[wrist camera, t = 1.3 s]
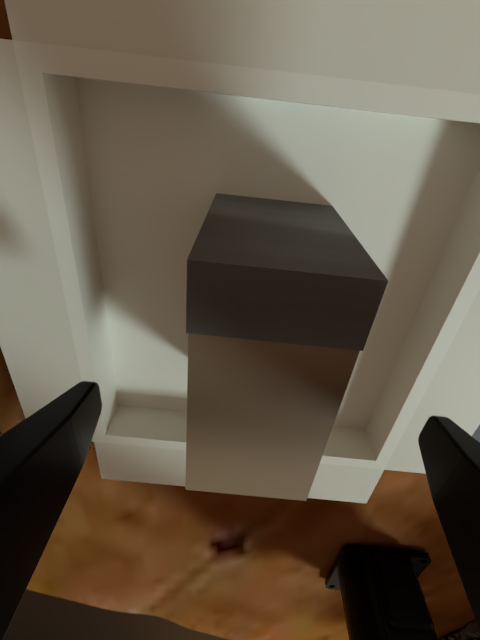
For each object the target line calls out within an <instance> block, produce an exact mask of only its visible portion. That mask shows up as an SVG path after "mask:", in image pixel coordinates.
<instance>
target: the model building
mask: <svg viewBox="0 0 480 640" xmlns="http://www.w3.org/2000/svg"><path fill="white" fill-rule="evenodd" d="M439 640H480V631H479V628H478V625H477V622H472V623H469V624H468V625H467V626H466V628H464V629H462V630H459V631H457V632H455V633H451V634H449V635H448V636H446V637H443V638H441V639H439Z"/></svg>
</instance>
